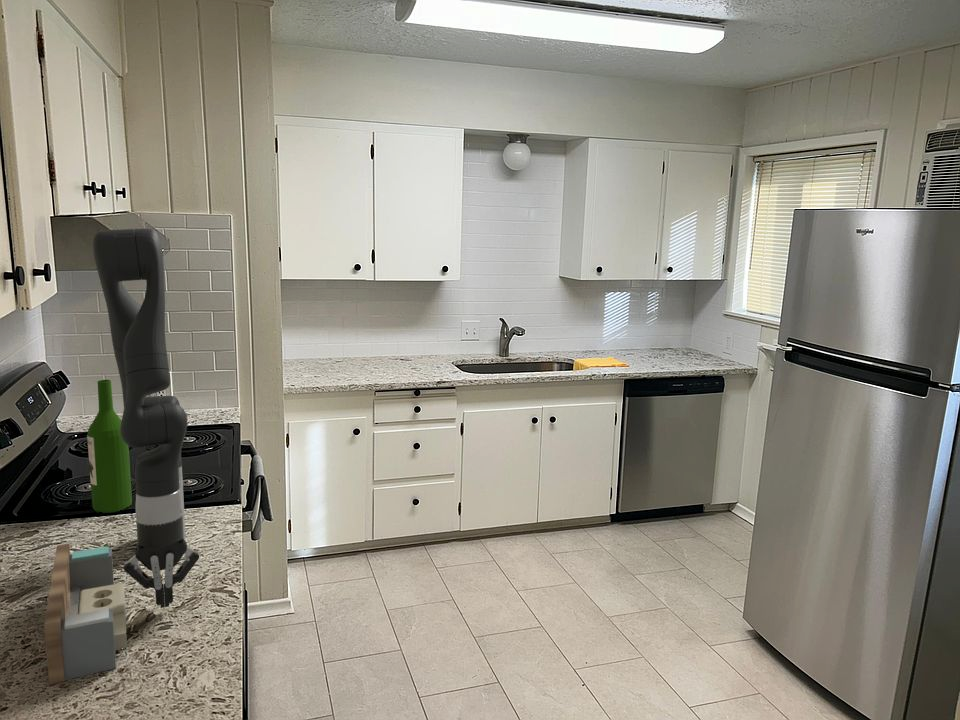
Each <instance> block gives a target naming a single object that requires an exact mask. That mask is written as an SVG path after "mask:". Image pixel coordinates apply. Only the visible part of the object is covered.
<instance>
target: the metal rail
mask: <svg viewBox="0 0 960 720" xmlns="http://www.w3.org/2000/svg"><path fill="white" fill-rule="evenodd" d="M80 592H81V591H80V584H79V585H73V586H71V588H70V598H69V607H68V616H71V615H76V614H78V613H79V601H80Z"/></svg>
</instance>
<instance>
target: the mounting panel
mask: <svg viewBox="0 0 960 720" xmlns="http://www.w3.org/2000/svg"><path fill="white" fill-rule="evenodd" d="M70 554H71V547H70V543H64V544H57V545H56V550H55V556H54V561H53V567H52V575H51V581H50V586H49V593H48V599H47V603H46V604H47V605H46V611H45V617H44V623H43V628H44V629H43V630H44V639H45V649H46V662H47V671H48V673H47V674H48V685H49V686H52V685H56V684H60V683H61V684H62V683H66V682H65V681H66V680H65V677H64V665H63V652H62V640H61V626H62V619H65V617H66V616H68V607H69V598H70V588H71V583H70V570H69V558H70Z"/></svg>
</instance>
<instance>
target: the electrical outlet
mask: <svg viewBox="0 0 960 720" xmlns="http://www.w3.org/2000/svg"><path fill="white" fill-rule="evenodd" d="M125 595H126V593H125V584H124V583H123V582H120V583H114V584H113V585H107V586H101V587H96V588H90V589H84V590H82V591H81V592H80V601H79V613H78V614H81V613H86V612H91V611H96V610H101V609H107V608H109V610H113V624H114V639H115V652H117V651H116V650H118V651H121V650H120V649H122V648H123V649H122V650H125V649H124V648H127V649H128V640H127V639H128V635H127V634H126V633H127V615H126V614H127V613H126V612H127V611H126V610H125V609H126V596H125Z"/></svg>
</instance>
